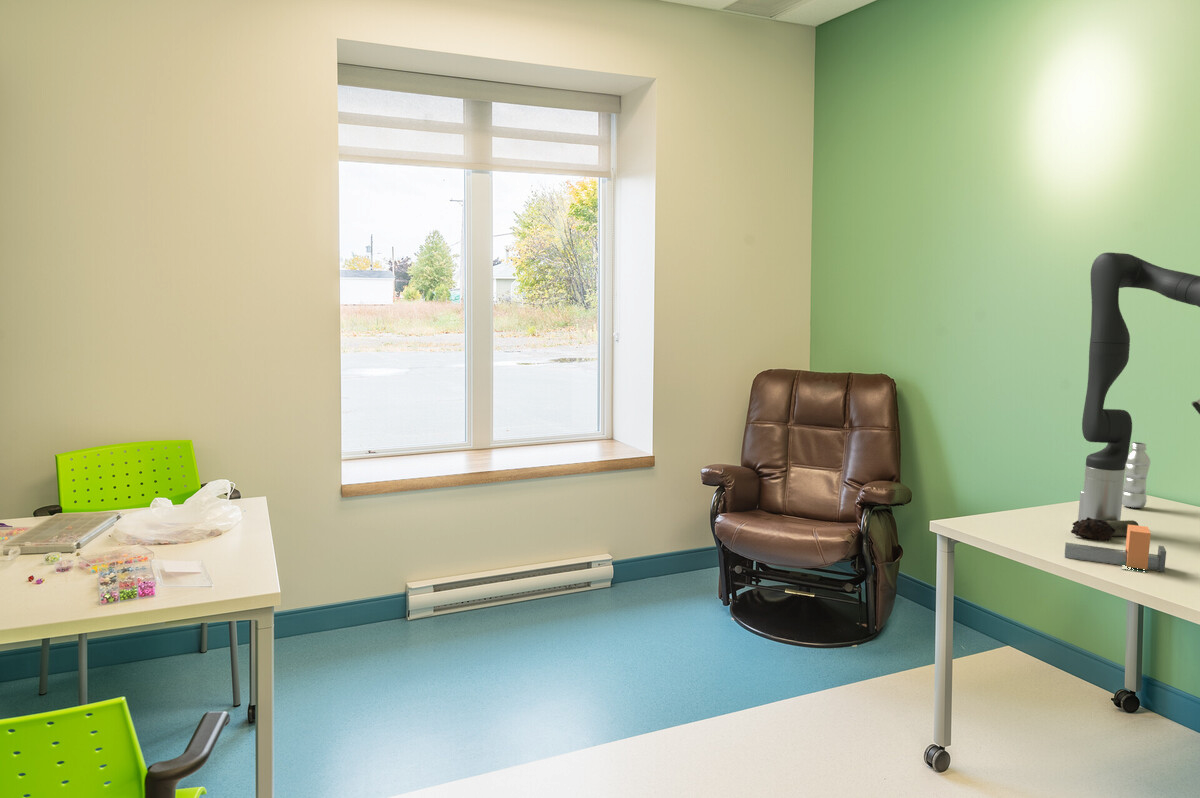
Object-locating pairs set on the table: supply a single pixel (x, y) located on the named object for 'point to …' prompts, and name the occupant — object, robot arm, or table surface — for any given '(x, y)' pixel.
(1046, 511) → the table surface
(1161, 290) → the robot arm
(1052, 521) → the table surface
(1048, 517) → the table surface
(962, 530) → the table surface
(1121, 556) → the bar
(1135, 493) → the plastic bottle
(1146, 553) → the sleeve
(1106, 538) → the dark brown rough lump
